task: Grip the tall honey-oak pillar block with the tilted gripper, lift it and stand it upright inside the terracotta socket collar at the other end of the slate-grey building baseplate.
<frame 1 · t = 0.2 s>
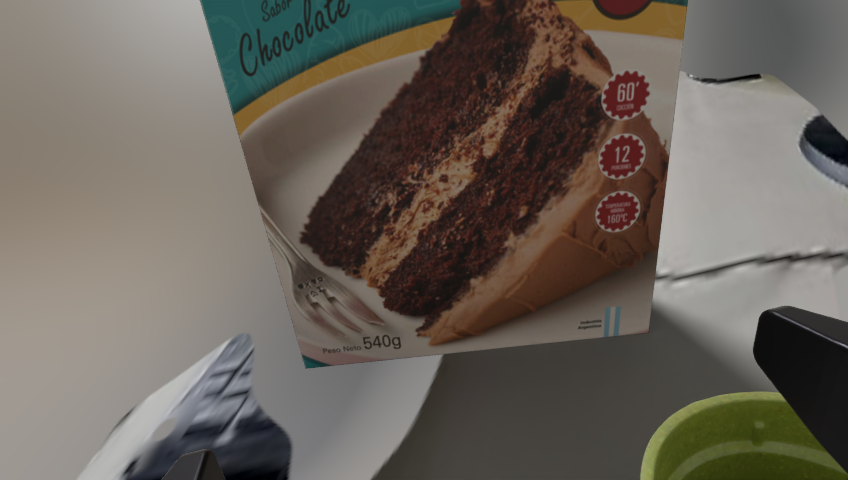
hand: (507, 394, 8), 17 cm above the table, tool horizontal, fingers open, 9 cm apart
cake mix box: (470, 323, 37), on the table
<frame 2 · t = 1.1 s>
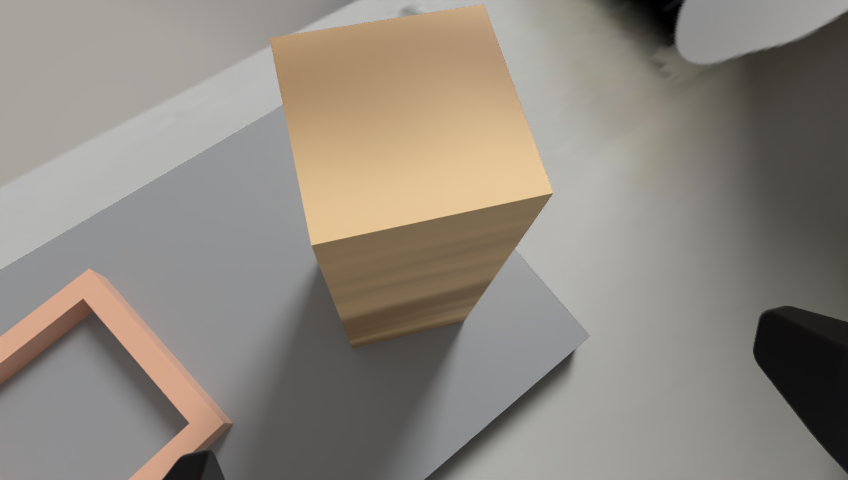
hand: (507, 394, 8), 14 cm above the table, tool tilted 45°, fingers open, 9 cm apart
oak pillar: (395, 280, 22), point 1 cm above the table, touching baseplate
baseplate: (249, 350, 22), on the table
socket collar: (66, 425, 18), on the baseplate, point 2 cm above the table
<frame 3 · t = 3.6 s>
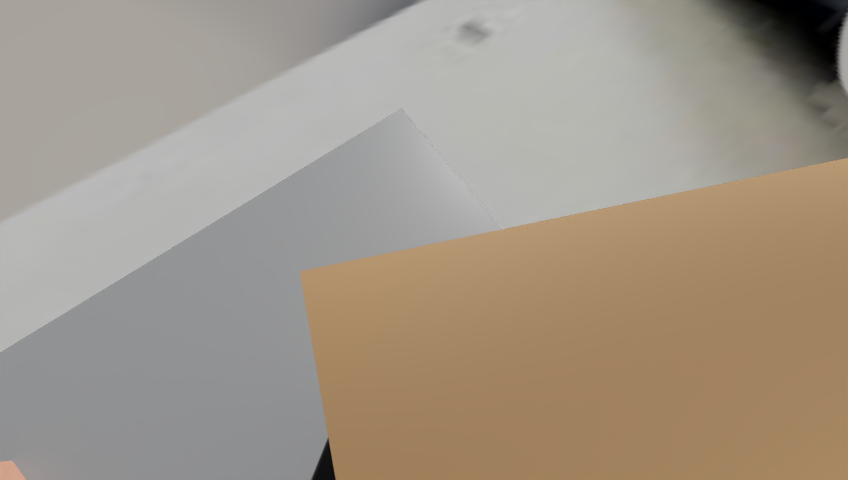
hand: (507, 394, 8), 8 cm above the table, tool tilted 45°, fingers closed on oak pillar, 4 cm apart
oak pillar: (471, 463, 14), point 1 cm above the table, touching baseplate, gripper
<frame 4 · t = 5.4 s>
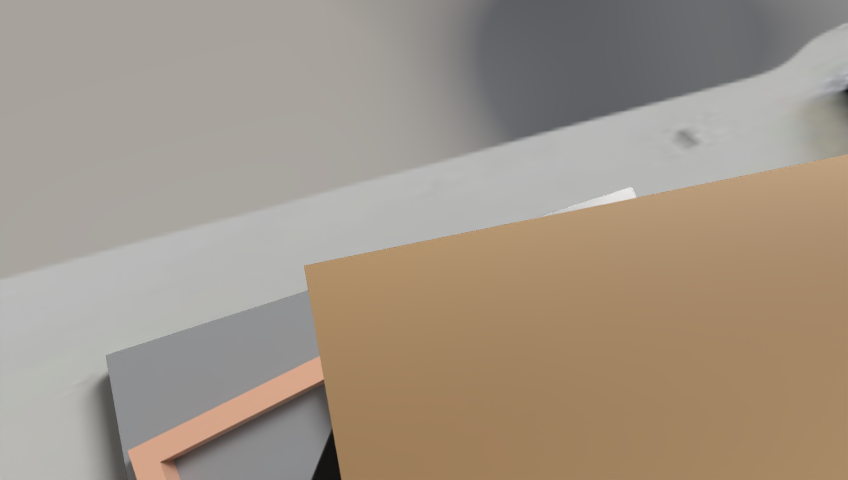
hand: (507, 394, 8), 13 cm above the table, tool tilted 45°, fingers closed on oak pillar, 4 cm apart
oak pillar: (472, 461, 14), point 7 cm above the table, touching gripper
baseplate: (457, 464, 21), on the table
when the fingers open (9 cm above the table, at t = 7.2 s): oak pillar drops 2 cm, resting on baseplate.
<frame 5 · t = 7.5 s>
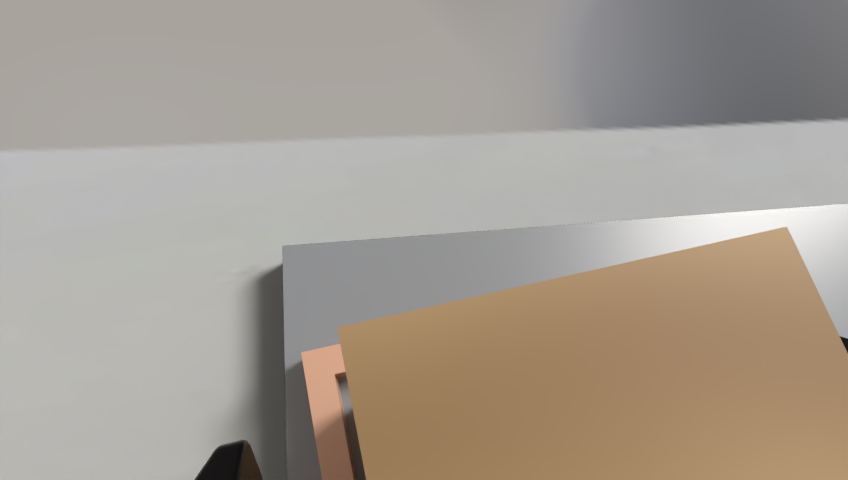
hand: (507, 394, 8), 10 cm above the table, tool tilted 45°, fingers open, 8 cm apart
oak pillar: (462, 456, 16), point 1 cm above the table, touching baseplate
baseplate: (642, 469, 17), on the table
socket collar: (463, 459, 15), on the baseplate, point 2 cm above the table
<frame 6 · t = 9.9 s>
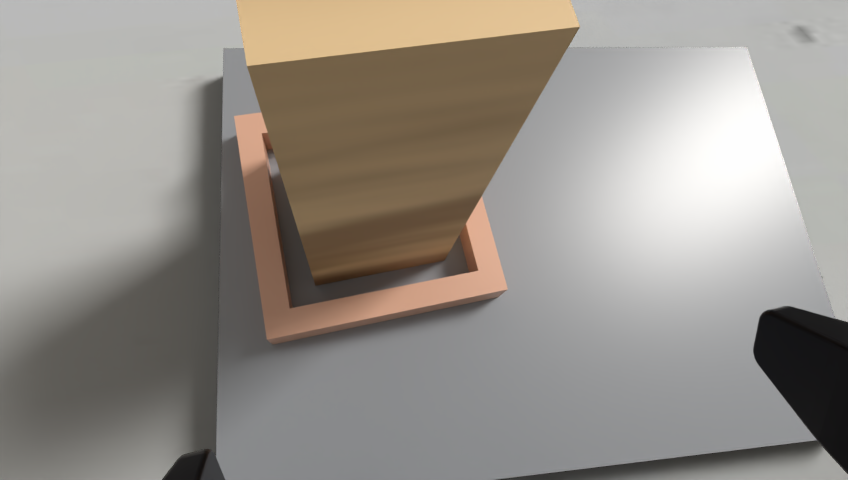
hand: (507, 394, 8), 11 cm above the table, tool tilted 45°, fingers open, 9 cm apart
oak pillar: (368, 212, 19), point 1 cm above the table, touching baseplate
baseplate: (522, 245, 21), on the table
socket collar: (367, 207, 18), on the baseplate, point 2 cm above the table
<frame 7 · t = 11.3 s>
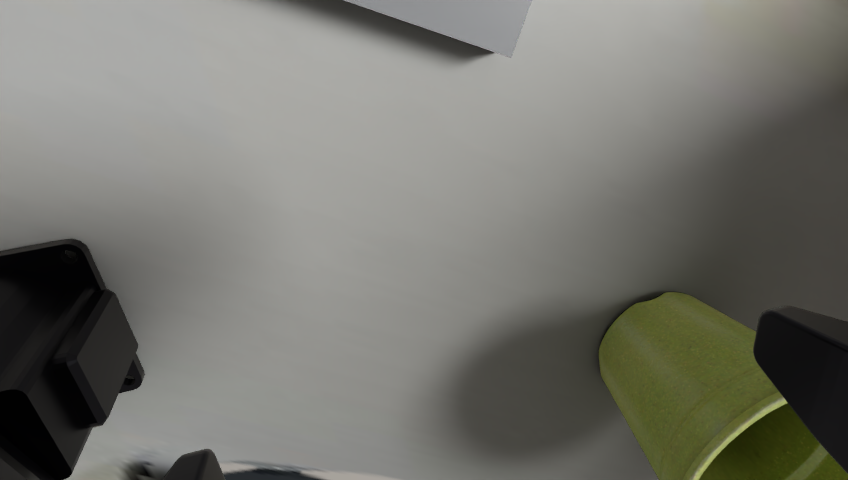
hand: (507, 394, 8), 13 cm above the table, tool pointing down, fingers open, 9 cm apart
plant pot: (649, 340, 27), on the table
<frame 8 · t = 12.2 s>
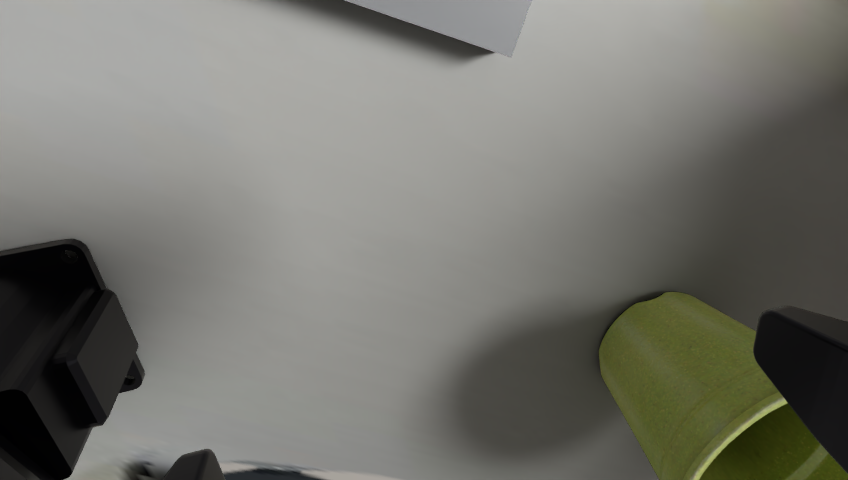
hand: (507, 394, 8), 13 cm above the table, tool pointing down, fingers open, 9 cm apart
plant pot: (650, 339, 27), on the table
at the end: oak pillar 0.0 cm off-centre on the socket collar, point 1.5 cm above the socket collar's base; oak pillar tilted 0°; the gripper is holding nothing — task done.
